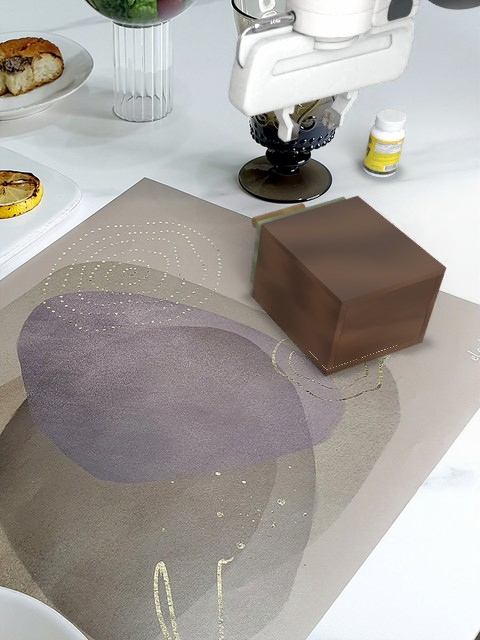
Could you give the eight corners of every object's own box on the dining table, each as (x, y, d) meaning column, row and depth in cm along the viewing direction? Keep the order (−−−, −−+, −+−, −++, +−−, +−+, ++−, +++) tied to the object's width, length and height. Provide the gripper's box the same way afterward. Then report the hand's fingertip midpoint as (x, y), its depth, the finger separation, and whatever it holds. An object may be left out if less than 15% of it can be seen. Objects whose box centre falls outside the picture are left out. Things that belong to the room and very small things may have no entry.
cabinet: (251, 296, 105) (261, 223, 97) (341, 268, 108) (357, 195, 101) (325, 376, 95) (342, 301, 87) (422, 342, 98) (446, 267, 90)
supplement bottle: (366, 158, 126) (378, 104, 120) (399, 164, 125) (412, 110, 119) (358, 174, 123) (370, 120, 117) (392, 181, 122) (405, 126, 116)
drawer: (230, 261, 109) (236, 201, 102) (310, 237, 112) (320, 177, 105) (316, 353, 96) (329, 291, 90) (404, 323, 99) (422, 261, 93)
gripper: (256, 35, 80) (242, 168, 90) (435, -5, 85) (403, 124, 95) (223, 12, 84) (212, 141, 94) (395, -26, 89) (368, 100, 99)
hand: (310, 132), depth 95 cm, fingers open, 4 cm apart
